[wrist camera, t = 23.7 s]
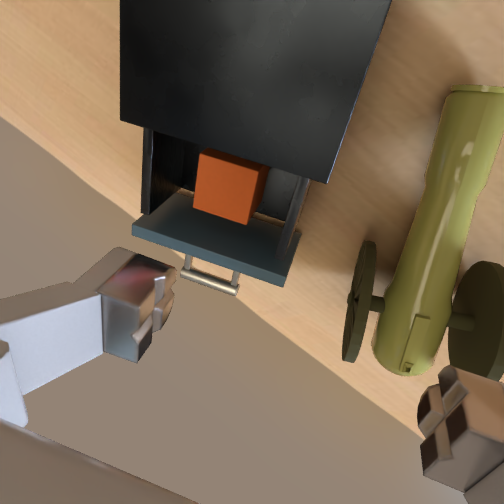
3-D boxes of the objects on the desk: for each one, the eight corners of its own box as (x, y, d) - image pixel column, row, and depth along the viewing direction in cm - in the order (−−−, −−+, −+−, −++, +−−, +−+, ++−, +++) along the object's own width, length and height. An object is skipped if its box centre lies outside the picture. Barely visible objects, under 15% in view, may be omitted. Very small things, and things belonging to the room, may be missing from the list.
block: (261, 202, 35) (246, 225, 31) (213, 186, 36) (192, 207, 32) (273, 152, 33) (258, 171, 29) (220, 136, 33) (199, 153, 29)
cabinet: (338, 145, 33) (327, 184, 25) (177, 97, 34) (119, 120, 27) (412, -67, 24) (430, -107, 17) (195, -115, 26) (118, -173, 18)
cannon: (395, 71, 29) (406, 96, 19) (569, 85, 26) (675, 121, 17) (340, 312, 42) (330, 394, 33) (450, 336, 40) (474, 432, 31)
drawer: (286, 280, 41) (269, 327, 34) (167, 239, 42) (130, 277, 36) (343, 110, 30) (334, 133, 24) (182, 64, 32) (134, 75, 26)
